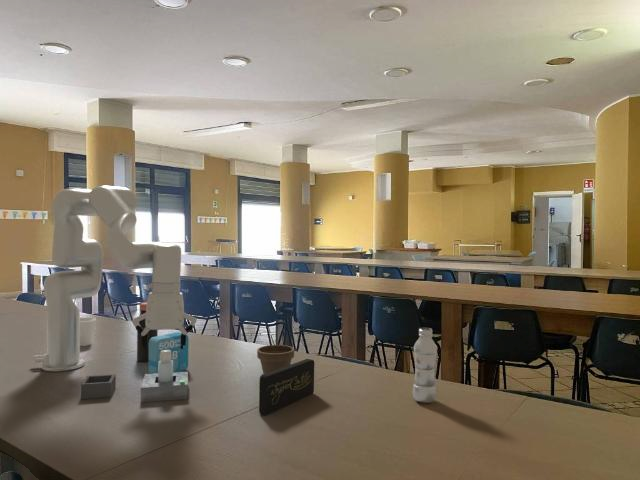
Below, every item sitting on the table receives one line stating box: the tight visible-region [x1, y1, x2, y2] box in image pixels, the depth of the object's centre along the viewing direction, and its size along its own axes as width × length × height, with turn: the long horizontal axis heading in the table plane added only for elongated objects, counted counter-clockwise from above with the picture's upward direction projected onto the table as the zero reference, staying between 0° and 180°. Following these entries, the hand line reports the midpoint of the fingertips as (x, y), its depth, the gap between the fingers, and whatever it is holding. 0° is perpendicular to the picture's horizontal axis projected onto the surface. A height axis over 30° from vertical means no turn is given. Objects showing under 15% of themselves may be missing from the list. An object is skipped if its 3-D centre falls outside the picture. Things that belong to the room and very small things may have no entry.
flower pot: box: [256, 344, 295, 375], centre depth 145 cm, size 12×11×10 cm
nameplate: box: [258, 358, 315, 416], centre depth 127 cm, size 21×2×10 cm, turn 145°
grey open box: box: [80, 373, 117, 400], centre depth 132 cm, size 8×8×4 cm
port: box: [140, 371, 189, 404], centre depth 133 cm, size 12×12×5 cm
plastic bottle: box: [412, 327, 438, 404], centre depth 130 cm, size 6×7×20 cm
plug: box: [158, 350, 173, 383], centre depth 133 cm, size 4×4×12 cm
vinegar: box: [136, 301, 159, 363], centre depth 167 cm, size 7×7×20 cm
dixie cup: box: [80, 316, 96, 347], centre depth 187 cm, size 8×8×10 cm
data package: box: [148, 332, 189, 374], centre depth 152 cm, size 12×4×12 cm, turn 142°
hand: (164, 348), depth 133 cm, fingers open, 9 cm apart
